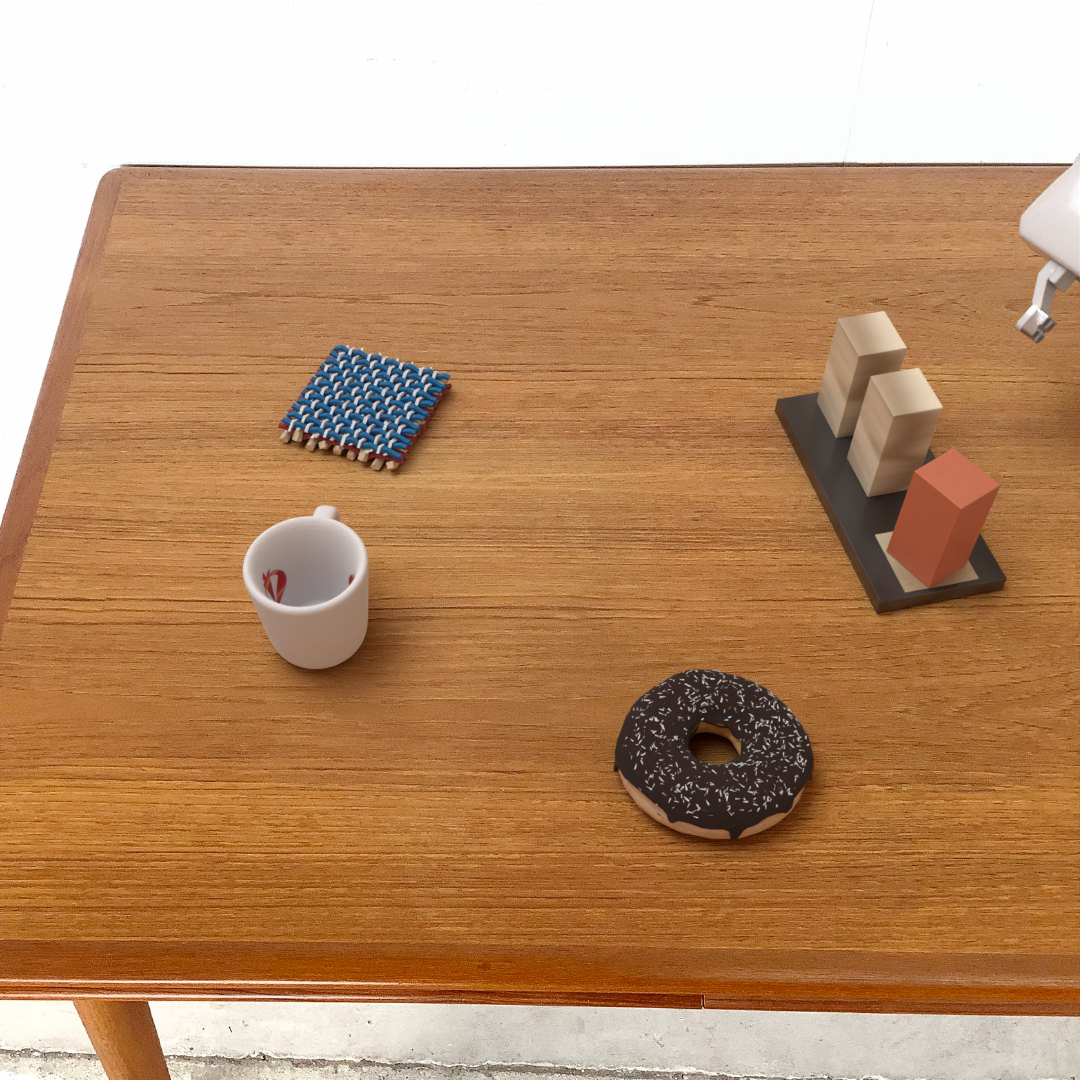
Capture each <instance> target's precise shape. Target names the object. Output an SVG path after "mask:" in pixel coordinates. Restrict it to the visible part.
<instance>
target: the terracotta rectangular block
mask: <svg viewBox="0 0 1080 1080" xmlns="http://www.w3.org/2000/svg"><path fill="white" fill-rule="evenodd" d="M1000 488H1001V484H1000V483H999V482H998V481H997V480H995V479H994V478H993V477H991V476H990V475H989V474H988V473H987V472H985V471H984V470H983V469H981V468H980V467H979V466H977V465H976V464H975V463H974V462H973V461H971V460H969V459H968V458H967V457H966V456H965V455H964V454H962V453H961V452H959V450H957V449H956V448H954V447H953V448H951V449H949V450H947V451H946V452H944V453H942V454H941V455H939V456H938V457H936V459H934V460H932V461H931V462H929V463H927V464H926V465H924V466H922V467H921V468H919V469H917V470H915V471H914V474H913V477H912V480H911V483H910V486H909V488H908V491H907V494H906V497H905V500H904V502H903V505H902V508H901V511H900V514H899V517H898V519H897V522H896V525H895V528H894V531H893V533H892V536H891V539H890V542H889V545H888V548H887V550H886V551H887V552H888V553H889V554H890V555H891V556H892V557H893V558H895V559H896V560H897V561H898V562H899V563H900V564H902V565H903V566H904V567H905V568H906V569H907V570H908V571H910V572H911V573H912V574H913V575H914V576H915V577H917V578H918V579H919V580H920V581H921V582H922V583H923V584H925V585H926V586H927V587H928V588H930V587H932V586H933V585H935V584H937V583H938V582H940V581H941V580H943V579H945V578H946V577H948V576H949V575H951V574H952V573H954V572H956V571H957V570H959V569H960V568H962V567H964V566H965V565H966V564H967V561H968V559H969V557H970V554H971V552H972V550H973V548H974V545H975V543H976V541H977V538H978V536H979V534H981V531H982V529H983V527H984V524H985V522H986V520H987V518H988V515H989V513H990V511H991V509H992V506H993V504H994V502H995V500H996V497H997V494H998V492H999V491H1000Z"/></svg>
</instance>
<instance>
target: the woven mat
mask: <svg viewBox="0 0 1080 1080" xmlns="http://www.w3.org/2000/svg"><path fill="white" fill-rule="evenodd" d="M364 350H365V348H364V347H361V348H360V349H359V348H358V349H357V348H356V347H351V348H350V345H349V344H346V345H344V344H339V345H335V346H334V347H333V349H332V348H331V350H330V351H329V353H328V356H326V358H325V359H324V361H323V363H321V364H320V365H319V368H318V369H317V370H316V372H315V373H314V376H312V377H311V378H310V379H309V381H308V383H307V385H306V386H305V388H303V390H302V391H301V392H300V394H299V396H298V397H297V399H296V400H295V403H292V405H291V408H289V409H288V411H287V413H286V414H285V416H284V417H283V418H282V419H281V421H280V422H279V423H278V425H277V426H278V428H280V429H282V430H283V432H282V434H281V435H280V437H279V438H278V439H279V440H280V441H281V442H282V444H285V443H288V442H289V441H290V439H291V440H292V441H295V442H300V443H301V442H302V440H303V441H304V440H308V439H309V440H308V442H307V443H306V445H305V449H306V450H307V451H309V452H313V451H314V450H315V448H316V446H317V445H318V448H319V450H328V449H329V448H330V447H332V446H333V448H332V449H333V450H332V452H333V453H334V454H336V455H338V456H341V454H342V452H343V451H344V449H346V450H348V452H347V454H346V459H348V460H350V461H353V460H354V459H355V458H356V457H357V460H359V461H362V462H368V460H369V459H374V460H373V461H372V462H371V465H370V467H371V469H372V470H373V471H380V469H381V468H382V466H383V465H384V463H385V465H386V468H387V470H390V471H391V470H394V469H397V468H398V466H399V465H400V464H401V465H402V464H403V463H404V459H405V460H407V459H408V458H409V456H410V455H409V453H408V451H409V452H411V451H412V449H413V443H414V444H415V443H416V442H417V440H418V438H417V436H420V435H421V434H422V431H425V430H426V428H427V425H426V423H427V422H429V421H430V419H431V416H433V415H434V413H435V410H434V409H437V408H438V407H439V402H442V401H443V399H444V395H446V394H447V392H448V390H451V389H452V387H453V385H452V383H451V382H449V380H450V378H451V374H448V373H445V372H444V373H441V372H440V371H438V370H436V371H435V370H434V367H433V366H429V368H427V367H425V366H422V367H417V366H416V365H415V364H416V362H414V361H411V362H410V363H407V361H402V362H399V361H400V358H398V357H396V359H395V358H390V357H389V356H387V355H386V356H384V357H383V356H382V352H378V354H375V353H376V352H371V353H369V354H367V353H366V352H364ZM448 382H449V383H448ZM385 461H386V462H385Z"/></svg>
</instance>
